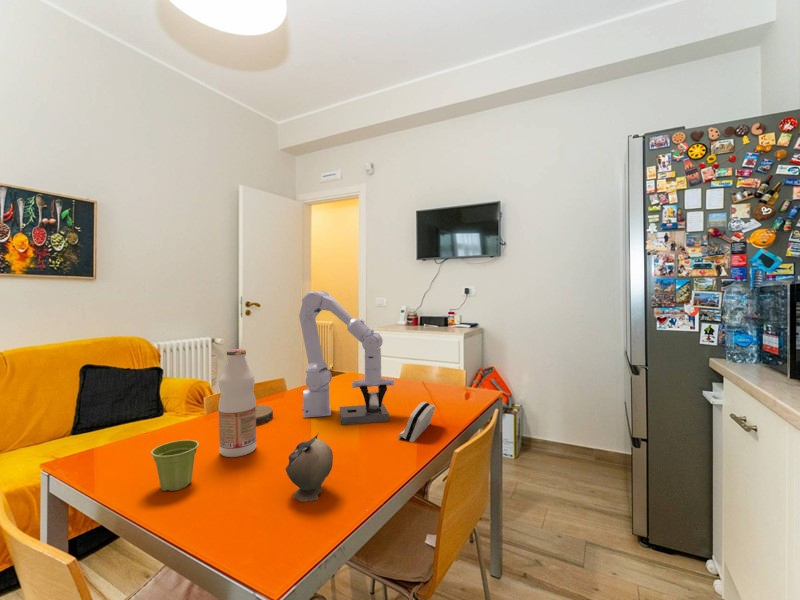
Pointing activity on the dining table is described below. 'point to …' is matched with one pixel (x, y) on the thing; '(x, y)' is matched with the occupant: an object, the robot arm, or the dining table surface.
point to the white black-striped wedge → (418, 421)
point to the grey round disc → (263, 414)
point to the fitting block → (362, 415)
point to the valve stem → (373, 401)
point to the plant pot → (175, 463)
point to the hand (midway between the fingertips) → (373, 406)
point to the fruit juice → (237, 407)
